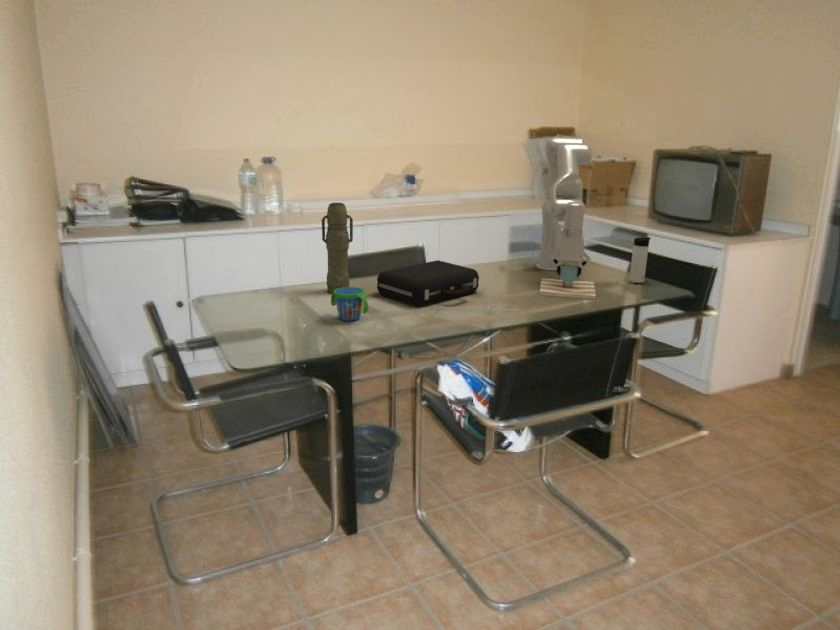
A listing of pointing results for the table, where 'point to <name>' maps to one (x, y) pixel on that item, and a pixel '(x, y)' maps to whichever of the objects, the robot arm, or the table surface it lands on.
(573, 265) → the teal cube
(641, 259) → the travel mug
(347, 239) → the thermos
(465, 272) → the briefcase
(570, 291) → the post board
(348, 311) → the snack cup
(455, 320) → the table surface
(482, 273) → the table surface
